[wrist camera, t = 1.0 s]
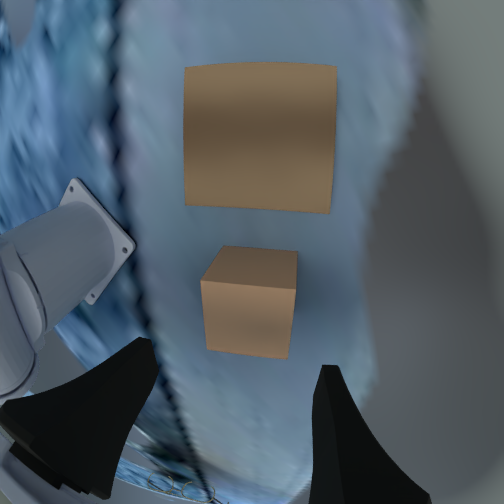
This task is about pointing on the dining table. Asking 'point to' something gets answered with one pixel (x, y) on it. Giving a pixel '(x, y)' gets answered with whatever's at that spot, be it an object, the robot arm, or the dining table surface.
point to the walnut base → (260, 135)
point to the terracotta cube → (250, 301)
